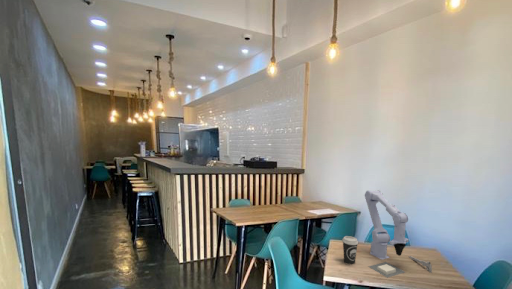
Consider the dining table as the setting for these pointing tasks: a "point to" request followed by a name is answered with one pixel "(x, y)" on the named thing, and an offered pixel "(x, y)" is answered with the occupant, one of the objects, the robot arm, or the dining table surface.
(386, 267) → the tile
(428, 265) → the caliper
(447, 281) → the dining table surface
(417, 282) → the dining table surface
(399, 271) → the mat
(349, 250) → the coffee cup
